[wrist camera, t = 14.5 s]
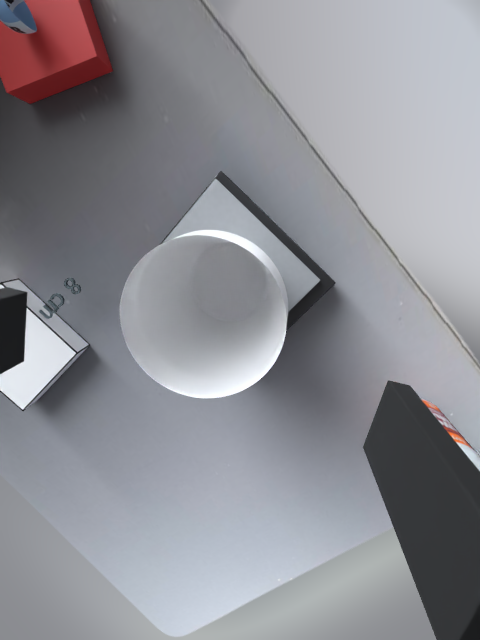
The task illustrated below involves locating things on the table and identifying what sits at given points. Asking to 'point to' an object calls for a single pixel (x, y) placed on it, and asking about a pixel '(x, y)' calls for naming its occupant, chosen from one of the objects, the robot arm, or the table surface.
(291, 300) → the scale
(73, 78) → the red rectangular block
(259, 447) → the table surface
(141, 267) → the cup
